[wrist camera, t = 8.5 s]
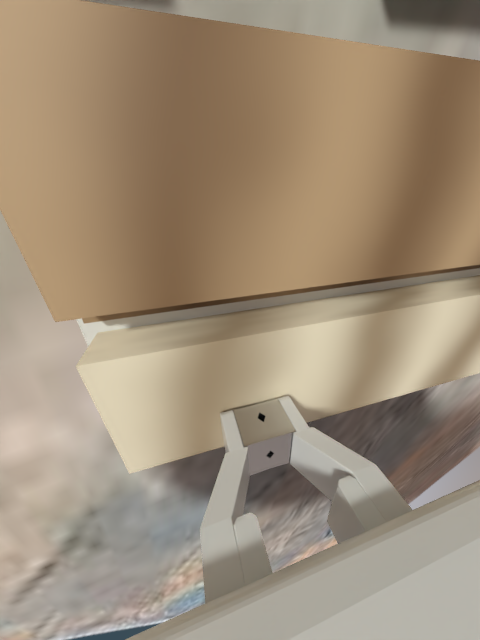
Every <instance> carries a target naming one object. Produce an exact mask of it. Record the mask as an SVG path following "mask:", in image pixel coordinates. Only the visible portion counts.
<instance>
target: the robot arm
mask: <svg viewBox="0 0 480 640" xmlns="http://www.w3.org/2000/svg"><path fill="white" fill-rule="evenodd" d="M220 419H221V427H222V434H223V441H224V446H225V451H226V453H225V456H224V459H223V462H222V465H221V468H220V471H219V474H218V477H217V480H216V483H215V486H214V489H213V492H212V495H211V498H210V501H209V504H208V507H207V510H206V513H205V516H204V519H203V522H202V525H201V528H200V538H201V551H202V564H203V577H204V590H205V603H206V604H203V605H201V606H199V607H197V608H194V609H192V610H190V611H188V612H186V613H183V614H181V615H179V616H177V617H174V618H172V619H170V620H168V621H166V622H163V623H161V624H159V625H157V626H155V627H153V628H150V629H148V630H146V631H143V632H141V633H139V634H137V635H134V636H132V637H130V638H128V639H126V640H480V480H479V481H477V482H474V483H472V484H470V485H468V486H465V487H463V488H461V489H459V490H457V491H454V492H452V493H450V494H448V495H446V496H443V497H441V498H439V499H437V500H435V501H432V502H430V503H428V504H425V505H423V506H421V507H419V508H417V509H414V510H412V509H411V507H410V506H409V505H408V504H407V502H406V501H405V500H404V499H403V497H402V496H401V495H400V494H399V493H398V491H397V490H396V489H395V488H394V486H393V485H392V484H391V483H390V481H389V480H388V479H387V478H386V476H385V475H384V474H383V473H382V472H381V470H380V469H379V468H378V467H377V465H376V464H374V463H372V462H371V461H369V460H367V459H366V458H364V457H362V456H361V455H359V454H357V453H356V452H354V451H352V450H351V449H349V448H347V447H346V446H344V445H342V444H341V443H339V442H337V441H336V440H334V439H332V438H331V437H329V436H327V435H326V434H324V433H322V432H321V431H319V430H317V429H315V428H314V427H311V428H309V426H308V425H307V423H306V422H305V420H304V418H303V417H302V415H301V414H300V412H299V411H298V409H297V408H296V406H295V404H294V403H293V401H292V400H291V398H290V397H289V396H285V397H281V398H277V399H273V400H269V401H265V402H262V403H258V404H255V405H252V406H247V407H243V408H239V409H234V410H230V411H226V412H222V413H220ZM287 463H290V464H291V465H292V466H293V467H294V468H295V469H296V470H297V471H298V472H300V473H301V474H302V475H303V476H304V477H305V478H306V479H307V480H308V481H310V482H311V483H312V484H313V485H314V486H315V487H316V488H317V489H319V490H320V491H321V492H322V493H323V494H324V495H325V496H326V497H327V498H329V499H330V500H331V501H332V504H331V508H330V511H329V515H328V519H327V522H328V524H329V526H330V528H331V530H332V532H333V534H334V536H335V538H336V541H337V543H338V544H337V545H334V546H332V547H330V548H328V549H325V550H323V551H321V552H319V553H317V554H314V555H312V556H310V557H308V558H305V559H303V560H301V561H299V562H297V563H294V564H292V565H290V566H288V567H285V568H283V569H281V570H279V571H277V572H274V573H272V569H271V566H270V562H269V559H268V555H267V552H266V548H265V545H264V541H263V537H262V534H261V530H260V527H259V523H258V520H257V516H256V515H254V514H252V513H248V514H245V515H243V511H244V506H245V501H246V495H247V490H248V484H249V479H250V476H251V475H254V474H257V473H259V472H262V471H265V470H267V469H270V468H274V467H277V466H280V465H284V464H287Z"/></svg>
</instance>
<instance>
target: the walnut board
mask: <svg viewBox="0 0 480 640" xmlns="http://www.w3.org/2000/svg"><path fill="white" fill-rule="evenodd" d="M0 210H1V212H2V214H3V216H4V218H5V220H6V222H7V224H8V226H9V229H10V231H11V233H12V235H13V237H14V239H15V241H16V243H17V245H18V247H19V249H20V251H21V253H22V255H23V257H24V259H25V261H26V263H27V265H28V267H29V269H30V271H31V273H32V276H33V278H34V280H35V282H36V284H37V286H38V288H39V290H40V292H41V294H42V296H43V298H44V300H45V302H46V304H47V306H48V308H49V310H50V312H51V314H52V316H53V318H54V320H55V322H59V321H66V320H74V319H81V318H82V320H83V323H84V324H85V323H92V322H99V321H106V320H113V319H120V318H128V317H135V316H142V315H149V314H156V313H163V312H170V311H178V310H185V309H192V308H199V307H206V306H213V305H220V304H227V303H235V302H242V301H249V300H256V299H263V298H270V297H277V296H284V295H292V294H299V293H306V292H313V291H320V290H327V289H334V288H341V287H349V286H356V285H363V284H370V283H377V282H384V281H391V280H399V279H406V278H413V277H420V276H427V275H434V274H441V273H448V272H456V271H463V270H470V269H477V268H480V61H478V60H471V59H465V58H458V57H451V56H445V55H438V54H432V53H425V52H418V51H412V50H405V49H399V48H392V47H386V46H379V45H372V44H366V43H359V42H353V41H346V40H339V39H333V38H326V37H320V36H313V35H306V34H300V33H293V32H287V31H280V30H273V29H267V28H260V27H254V26H247V25H240V24H234V23H227V22H221V21H214V20H208V19H201V18H194V17H188V16H181V15H175V14H168V13H161V12H155V11H148V10H142V9H135V8H128V7H122V6H115V5H109V4H102V3H95V2H89V1H82V0H0Z"/></svg>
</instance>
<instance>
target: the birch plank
mask: <svg viewBox="0 0 480 640" xmlns="http://www.w3.org/2000/svg"><path fill="white" fill-rule="evenodd" d="M76 368H77V370H78V372H79V374H80V376H81V378H82V380H83V382H84V384H85V386H86V388H87V390H88V392H89V394H90V396H91V398H92V400H93V402H94V404H95V406H96V408H97V410H98V412H99V414H100V416H101V418H102V420H103V422H104V424H105V426H106V428H107V430H108V432H109V434H110V436H111V438H112V440H113V442H114V444H115V446H116V448H117V450H118V452H119V454H120V456H121V458H122V460H123V462H124V464H125V466H126V468H127V470H128V472H129V473H134V472H137V471H141V470H144V469H148V468H151V467H155V466H158V465H162V464H165V463H169V462H172V461H175V460H179V459H182V458H186V457H189V456H193V455H196V454H200V453H203V452H207V451H210V450H214V449H217V448H221V447H224V441H223V434H222V427H221V419H220V413H222V412H226V411H230V410H234V409H239V408H243V407H247V406H252V405H255V404H258V403H262V402H265V401H269V400H273V399H277V398H281V397H285V396H289V397H290V398H291V400H292V401H293V403H294V404H295V406H296V408H297V409H298V411H299V412H300V414H301V415H302V417H303V418H304V420H305V422H306V423H308V422H311V421H314V420H318V419H321V418H325V417H328V416H332V415H335V414H339V413H342V412H346V411H349V410H353V409H356V408H360V407H363V406H367V405H370V404H374V403H377V402H380V401H384V400H387V399H391V398H394V397H398V396H401V395H405V394H408V393H412V392H415V391H419V390H422V389H426V388H429V387H433V386H436V385H440V384H443V383H446V382H450V381H453V380H457V379H460V378H464V377H467V376H471V375H474V374H478V373H480V275H478V276H471V277H464V278H458V279H451V280H444V281H438V282H431V283H424V284H418V285H411V286H404V287H398V288H391V289H384V290H378V291H371V292H364V293H358V294H351V295H344V296H338V297H331V298H324V299H318V300H311V301H304V302H298V303H291V304H284V305H278V306H271V307H264V308H258V309H251V310H244V311H238V312H231V313H225V314H218V315H211V316H205V317H198V318H191V319H185V320H178V321H171V322H165V323H158V324H151V325H145V326H138V327H131V328H125V329H118V330H111V331H105V332H98V333H97V334H96V336H95V337H94V339H93V340H92V342H91V343H90V345H89V347H88V348H87V350H86V351H85V353H84V354H83V356H82V357H81V359H80V361H79V362H78V364H77V365H76Z"/></svg>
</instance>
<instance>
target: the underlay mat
mask: <svg viewBox="0 0 480 640" xmlns="http://www.w3.org/2000/svg"><path fill="white" fill-rule="evenodd" d="M478 275H480V268H477V269H470V270H463V271H456V272H448V273H441V274H434V275H427V276H420V277H413V278H406V279H399V280H391V281H384V282H377V283H370V284H363V285H356V286H349V287H341V288H334V289H327V290H320V291H313V292H306V293H299V294H292V295H284V296H277V297H270V298H263V299H256V300H249V301H242V302H235V303H227V304H220V305H213V306H206V307H199V308H192V309H185V310H178V311H170V312H163V313H156V314H149V315H142V316H135V317H128V318H120V319H113V320H106V321H99V322H92V323H85V324H84V323H83V320H82V318H81V319H76V320H77V322H78V324H79V327H80V329H81V331H82V333H83V336H84V338H85V340H86V343H87V345H88V347H89V345H90V343H91V342H92V340H93V339H94V337H95V336H96V334H97V333H98V332H105V331H111V330H118V329H125V328H131V327H138V326H145V325H151V324H158V323H165V322H171V321H178V320H185V319H191V318H198V317H205V316H211V315H218V314H225V313H231V312H238V311H244V310H251V309H258V308H264V307H271V306H278V305H284V304H291V303H298V302H304V301H311V300H318V299H324V298H331V297H338V296H344V295H351V294H358V293H364V292H371V291H378V290H384V289H391V288H398V287H404V286H411V285H418V284H424V283H431V282H438V281H444V280H451V279H458V278H464V277H471V276H478Z"/></svg>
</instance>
